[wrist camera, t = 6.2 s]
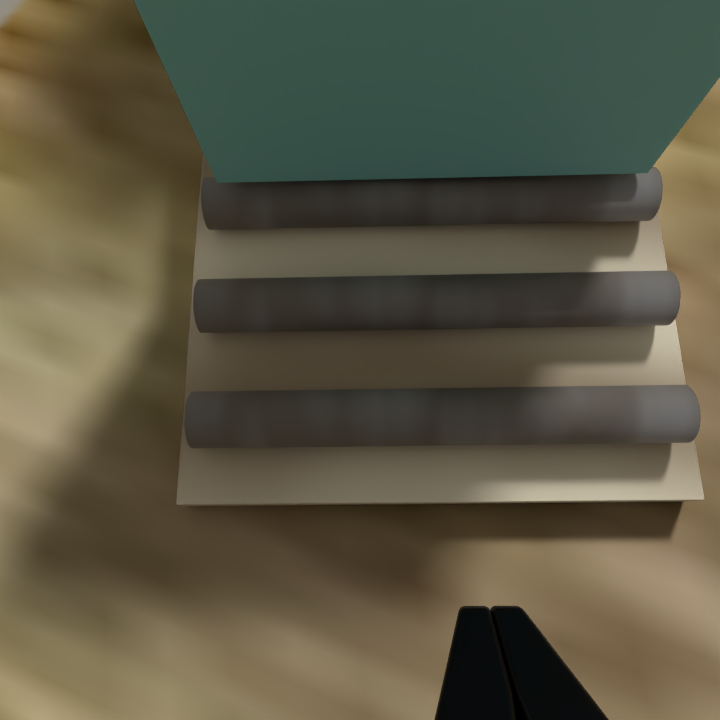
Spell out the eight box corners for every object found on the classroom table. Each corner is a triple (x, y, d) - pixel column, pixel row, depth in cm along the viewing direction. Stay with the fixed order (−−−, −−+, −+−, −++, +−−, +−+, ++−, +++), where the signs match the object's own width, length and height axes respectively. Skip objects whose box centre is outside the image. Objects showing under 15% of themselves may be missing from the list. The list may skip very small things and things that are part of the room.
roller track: (684, 501, 16) (862, 483, 10) (188, 505, 16) (81, 491, 10) (602, -38, 21) (689, -259, 15) (224, -27, 21) (167, -239, 15)
